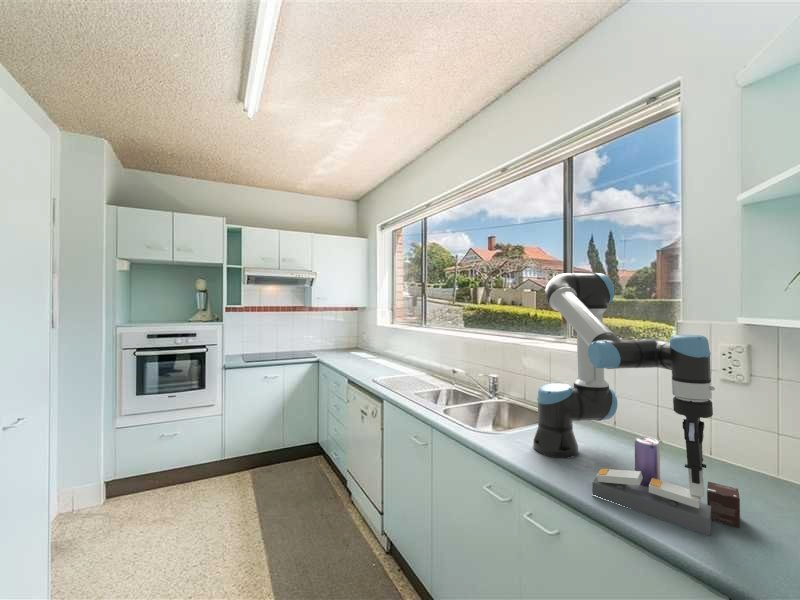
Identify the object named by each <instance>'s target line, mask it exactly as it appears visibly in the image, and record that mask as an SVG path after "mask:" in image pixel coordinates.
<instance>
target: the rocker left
mask: <svg viewBox="0 0 800 600" xmlns="http://www.w3.org/2000/svg"><path fill="white" fill-rule="evenodd" d="M596 477H597V478H598V482H606V483H617V484H629V485H640V483H641V481H642V479H643V477H642V473H641V471H635V470H629V469H627V470H625V469H623V470H622V469H612V468H601V469H600V470H599V471H598V472H597V474H596Z"/></svg>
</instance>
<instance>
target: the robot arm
mask: <svg viewBox="0 0 800 600" xmlns="http://www.w3.org/2000/svg"><path fill="white" fill-rule="evenodd" d="M615 294H616V293H615V286H614V283H613V282H612V279H611V278H610V277H609V276H608V275H607V274H604V273H600V272H599V273H598V272H579V273H578V272H577V273H573V272H572V273H569V272H566V273H560V274H558V275H556V276H554V277H552V278H551V279H550V280H549V281H548V283H547V284H546V287H545V290H544V295H545V300H546V302H547V304H548V305H549V306H550V307H551V308H552V310H554V311H556V312H559V314H560V315H561V316H562V317H563V318H564V320H565V321H566V322H568V324H569V325H570V327H572V328H573V330H574V331H575V332H576V347H577V348H576V349H577V351H576V352H577V378H576V379H575V380H574V381H573V387H572V386H571V385H570V384H568V383H561V382H560V383H559V382H558V383H557V382H556V383H555V382H554V383H547V384H544V385H541V387H539V389H538V390H537V418H538V419H537V421H538V422H537V425H538V426H537V429H536V432H535V435H534V438H533V448H535V449H536V450H537V451H536V450H535V449H534V450H535V451H536V452H538V453H540V454H542V455H544V454H545V456H547V455H548V457H551V458H558V459H560V458H561V459H570V458H574V457H577V456H578V454H579V445H578V442H577V439H576V436H575V434H574V427H573V426H574V425H573V423H574V422H581V421H582V422H584V421H585V422H586V421H587V422H588V421H596V422H597V421H598V422H599V421H606V420H610V419H612V418H613V417H614V416H615V414H616V412H617V411H618V410H617V409H618V398H617V396H616V392H615V391H614V390H613V389H612V388H611V387H610V384H609V382H608V381H606V380H605V369H606V370H614V369H646V368H647V369H649V368H650V369H651V368H653V369H654V368H658V369H659V368H660V369H665V370H669V371H671V393H672V395H673V396H674V397H673V398H672V404H673V405H672V406H673V407H672V408H673V411H674V413H676V414H677V415H680V416H684V417H685V418H683V421H682V429H683V434H684V437H683V438H684V440H685V448H686V449H685V450H686V460H687V464H686V463H685V464H684V468H687V469H688V486H689V487H688V489H689V491H690V494H691V495H695V496H699V497H701V498H703V499H704V498H705V484H704V483H705V482H704V481H705V479H704V468H705V469H707V464H704V463H703V462H704V458H703V457H704V456H703V441H704V431H705V422H704V421H701V419H709V418H711V417H713V416H714V408H713V407H714V406H713V402H712V400H711V399H712V397H713V396H712V391H715V390H716V388H715V386H712V374H711V351H710V343H709V339H708V338H707V337H706V336H704V335H699V334H698V335H697V334H673V335H671V336H670V338H669V339H670V340H664V339H657V338H642V339H636V340H632V339H631V340H630V339H629V340H625V339H623V340H622V339H620V338H619V337H618V336H617V335H616V334H615V333H614V332H612V330H610V328H609V327H608V326H606V324H605V323H604V319H603V318H604V317H603V314H604V313H605V312H606V311H607V310H608V305H609V304H611V303H613V301H614V298H615Z"/></svg>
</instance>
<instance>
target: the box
mask: <svg viewBox="0 0 800 600" xmlns="http://www.w3.org/2000/svg"><path fill="white" fill-rule="evenodd" d="M706 487H707V489H706V490H707V491H706V500H707V503H706V505H709V506H711V521H714V522H717V523H720V524H721V523H722V524H725V525H728V526H731V527H735V528H738V529H740V528H741V497H740V493H739V488H737V487H736V488H735V487H732V486H729V485H724V484H720V483H716V482H712V481H707V486H706Z"/></svg>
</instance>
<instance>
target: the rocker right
mask: <svg viewBox="0 0 800 600" xmlns="http://www.w3.org/2000/svg"><path fill="white" fill-rule="evenodd" d="M649 492H650V493H653V494H656V495H659V496H662V497H665V498H668V499H671V500H674V501H677V502H680V503H683V504H686V505H689V506H693V507H696V508H699V506H700V503H701V498H702V497H699V496H695V495H691V494H690V491H689V488H686V487H683V486H680V485H677V484H673V483H670V482H667V481H663V480H661V479H660V480H658V479H655V478H652V479H651V482H650V484H649Z"/></svg>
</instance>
